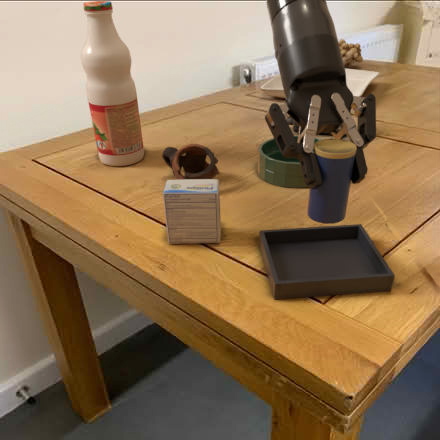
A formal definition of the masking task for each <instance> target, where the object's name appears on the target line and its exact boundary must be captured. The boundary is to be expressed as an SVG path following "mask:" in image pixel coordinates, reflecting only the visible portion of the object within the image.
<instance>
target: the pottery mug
mask: <svg viewBox="0 0 440 440" xmlns="http://www.w3.org/2000/svg"><path fill="white" fill-rule="evenodd" d="M207 156H208V157H209V161H210V162H208V161H207ZM161 157H162V160H163V161H164V163H165V164H166V165H167V166H168V167H169V168H170V169H171V170H172V174H173V176H174V177H175V178H176V180H185V179H215V176H218V175H219V176H220V173H221V172H220V171H219V169H218V167H217V164H218V163H219V159H218V158H217V157H216V156H215V153H214V152H213V151H212V150H211V149H210V148H209V147H207V146H205V145H203V144H199V143H190V144H186V145H183V146H182V147H180V148H179V149H177V148H176V147H172V146H166V147H165V148H164V150H163V151H162V153H161ZM182 169H183V172H184V175H183V174H182V172H181V171H182ZM194 172H195V173H194Z"/></svg>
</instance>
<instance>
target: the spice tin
mask: <svg viewBox="0 0 440 440" xmlns="http://www.w3.org/2000/svg"><path fill="white" fill-rule="evenodd" d="M356 149H357V147H356V145H355V144H354V143H352V142H350V141H347V140H342V139H335V138H324V139H322V140H320V141H317V142H316V143H315V144H314V149H313V150H314V153H316V157H317V161H318V165H319V170H320V174H321V178H322V184H321V185H320V186H319V187H318V188H317V189H312V190H311V189H310V188H309V191H308V192H309V193H308V202H307V216H308V218H309V219H310V220H312V221H314V222H316V223H321V224H326V225H327V224H328V225H333V224H337V223H341V222H342V221H344V220H345V218H346V214H347V210H348V209H347V207H348V202H349V196H350V190H351V184H352V181H351V178H352V171H353V165H354V159H355V154H356Z"/></svg>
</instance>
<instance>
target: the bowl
mask: <svg viewBox="0 0 440 440" xmlns="http://www.w3.org/2000/svg"><path fill="white" fill-rule="evenodd" d="M293 135H294V134H293ZM294 137H295V139H296V141H297V143H298V135H294ZM320 140H323V139H322V138H319V137H315V140H314V144H315V143H316V142H317V141H320ZM313 149H314V148H313ZM312 152H313V153H314V150H313V151H312ZM257 174H258V176H259V178H260V179H262V181H264V182H266V183H269V184H271V185H273V186H279V187H282V188H292V189H304V188H307V189H308V188H310V187H309V185H306V184H305V182H304V179H303V174H302V170H301V165H300V162H299V160H298V159H296V158H293V157H289V158H285V157H283V155H282V154H281V151H280V149H279V147H278V145H277V143H276V141H275V139H274V137H272V138H269V139H267V140H265V141H263V142H261V143H260V144H259V146H258V148H257Z"/></svg>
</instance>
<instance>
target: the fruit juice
mask: <svg viewBox="0 0 440 440" xmlns="http://www.w3.org/2000/svg"><path fill="white" fill-rule="evenodd" d="M113 8H114V7H113V4H112V2H111V0H93V1H86V2H83V11H84V14H85V16H86V18H87V32H86V38H85V39H86V40H85V42H84V44H83V46H82V49H81V52H80V61H81V66H82V68H83V71H84V72H85V74H86V84H85V90H86V97H87V98H86V99H87V103H88V108H89V113H90V116H91V118H90V119H91V123H92V128H93V129H92V130H93V133H94V139H95V145H96V149H97V155H98V158H99V160H100V162H101V163H102V164H103V165H106V166H111V167H126V166H130V165H134V164H137V163H139V162H140V161H142V160H143V159H144V155H145V148H144V141H143V140H144V139H143V133H142V132H143V131H142V126H141V117H140V109H139V102H138V93H137V87H136V83H135V80H134V79H133V76H132V74H131V73H132V72H131V70H132V54H131V51H130V49H129V47H128V45H127V44H126V43H125V42H124V40H122V38H121V37H120V35H119V32H118V31H117V28H116V26H115V23H114V19H113V13H114V12H113Z"/></svg>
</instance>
